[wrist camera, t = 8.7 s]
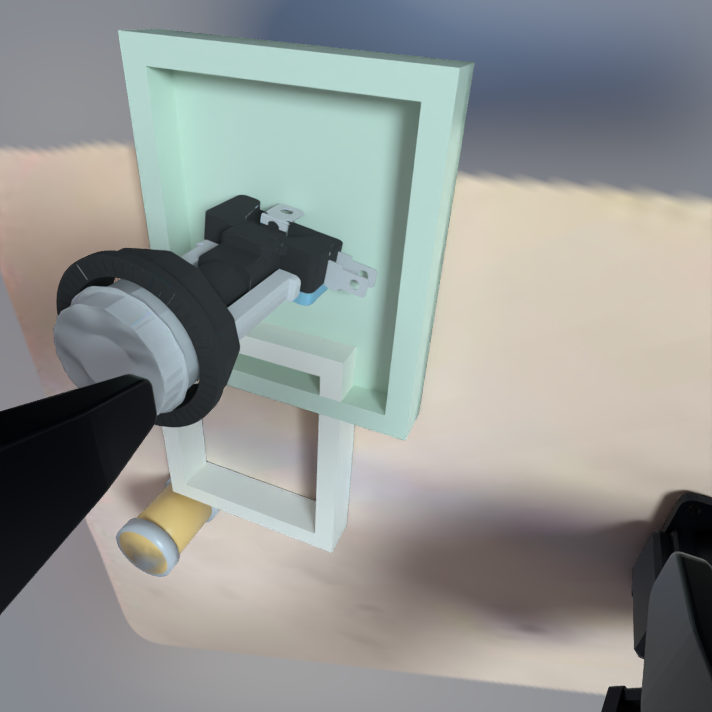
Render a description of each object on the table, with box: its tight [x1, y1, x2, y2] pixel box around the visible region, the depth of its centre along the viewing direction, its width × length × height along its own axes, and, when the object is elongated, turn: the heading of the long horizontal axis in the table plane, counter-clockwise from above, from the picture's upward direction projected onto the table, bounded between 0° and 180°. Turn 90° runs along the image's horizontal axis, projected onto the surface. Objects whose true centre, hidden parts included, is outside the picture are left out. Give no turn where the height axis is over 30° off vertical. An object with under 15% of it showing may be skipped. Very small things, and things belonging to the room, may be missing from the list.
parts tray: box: [118, 29, 474, 440], centre depth 22 cm, size 12×14×2 cm
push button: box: [53, 195, 378, 427], centre depth 18 cm, size 7×5×10 cm
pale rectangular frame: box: [162, 321, 356, 553], centre depth 28 cm, size 10×12×2 cm
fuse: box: [116, 478, 220, 577], centre depth 33 cm, size 4×4×5 cm
